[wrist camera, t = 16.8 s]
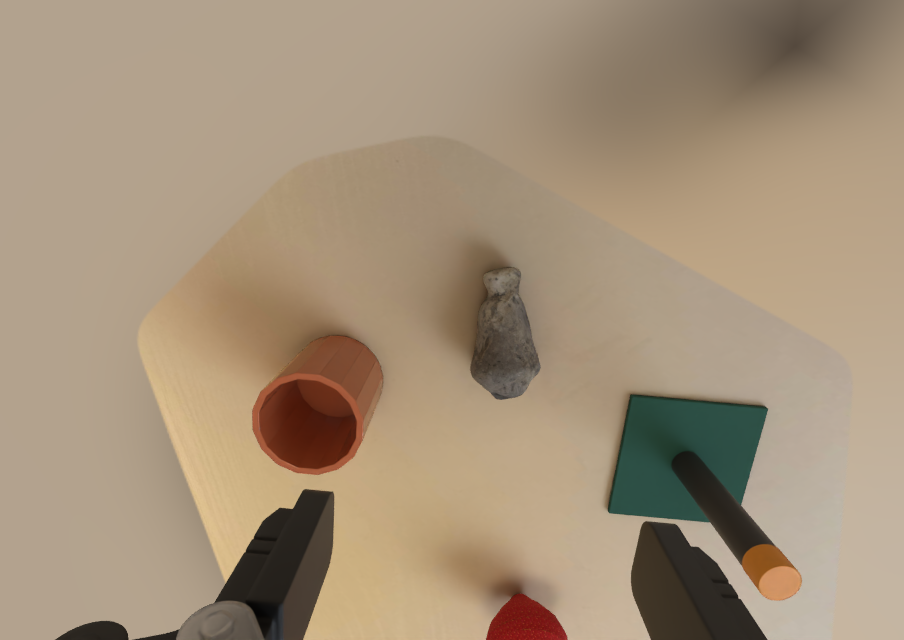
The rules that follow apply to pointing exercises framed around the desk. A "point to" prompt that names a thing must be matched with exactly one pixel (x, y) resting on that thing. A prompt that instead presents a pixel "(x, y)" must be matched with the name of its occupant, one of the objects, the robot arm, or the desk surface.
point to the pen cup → (319, 406)
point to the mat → (674, 431)
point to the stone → (504, 338)
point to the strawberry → (525, 622)
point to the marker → (738, 529)
